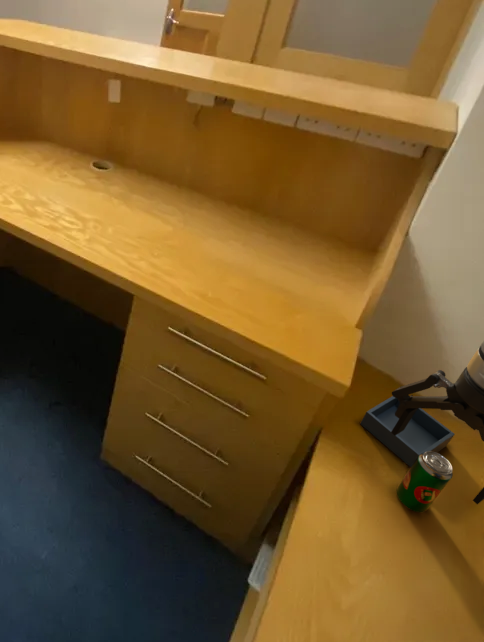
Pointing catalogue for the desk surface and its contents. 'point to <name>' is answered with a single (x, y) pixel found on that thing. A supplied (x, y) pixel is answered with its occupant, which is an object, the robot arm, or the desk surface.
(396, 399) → the tub
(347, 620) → the desk surface
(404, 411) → the robot arm
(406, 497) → the soda can
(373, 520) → the desk surface
